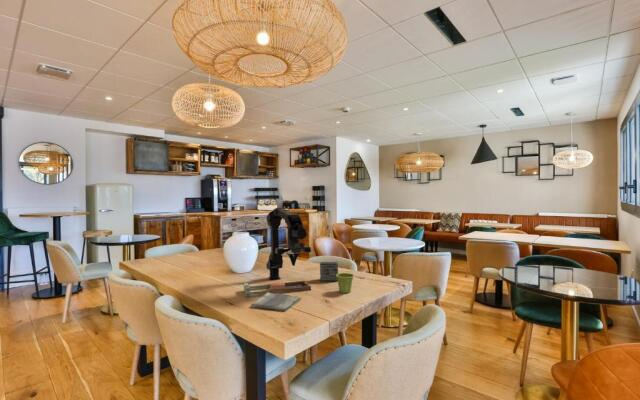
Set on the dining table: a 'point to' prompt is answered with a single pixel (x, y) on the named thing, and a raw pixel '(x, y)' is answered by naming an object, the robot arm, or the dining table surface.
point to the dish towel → (276, 302)
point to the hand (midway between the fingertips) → (293, 265)
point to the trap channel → (289, 288)
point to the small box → (328, 271)
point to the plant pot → (345, 282)
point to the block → (277, 285)
